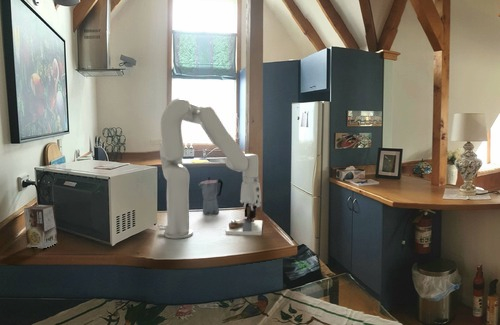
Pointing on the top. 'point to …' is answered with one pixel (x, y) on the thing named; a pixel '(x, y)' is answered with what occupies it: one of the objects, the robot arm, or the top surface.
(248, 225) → the keeper
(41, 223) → the coffee box
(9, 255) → the top surface
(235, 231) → the base plate
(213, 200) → the moka pot
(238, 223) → the walnut link
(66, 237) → the top surface
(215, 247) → the top surface
